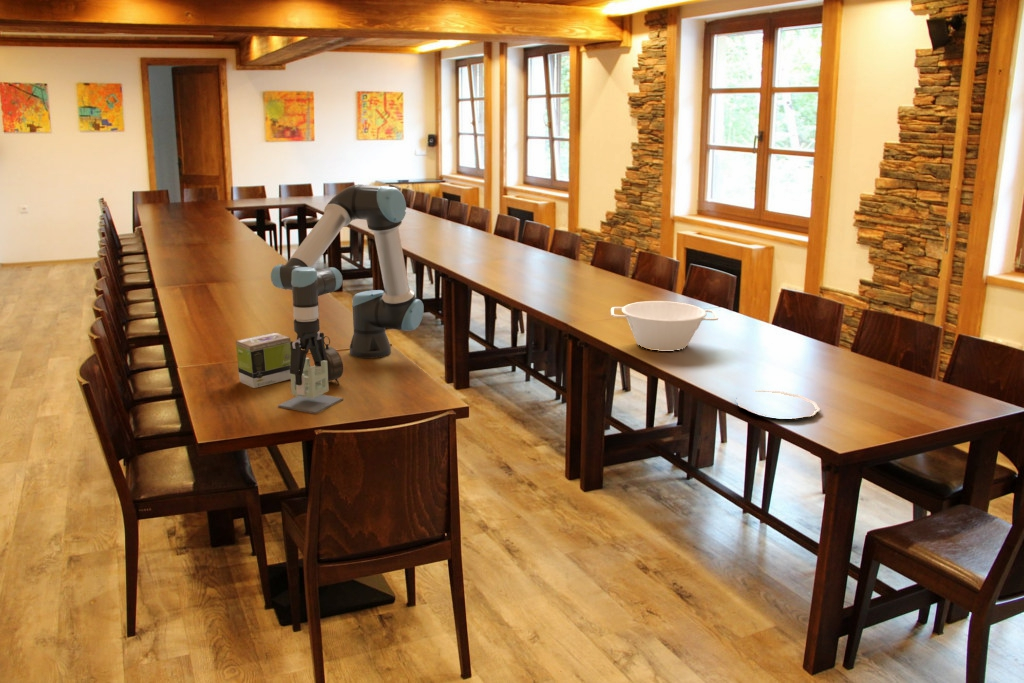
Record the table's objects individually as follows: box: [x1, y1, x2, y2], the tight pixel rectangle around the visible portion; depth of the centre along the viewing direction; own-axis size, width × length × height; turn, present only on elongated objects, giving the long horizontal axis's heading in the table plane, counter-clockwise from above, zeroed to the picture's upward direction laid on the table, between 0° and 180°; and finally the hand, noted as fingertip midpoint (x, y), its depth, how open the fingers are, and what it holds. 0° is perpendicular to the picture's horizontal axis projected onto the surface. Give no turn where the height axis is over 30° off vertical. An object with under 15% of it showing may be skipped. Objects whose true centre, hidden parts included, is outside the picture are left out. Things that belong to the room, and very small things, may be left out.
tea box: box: [235, 331, 292, 389], centre depth 296 cm, size 15×10×15 cm
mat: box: [277, 394, 344, 415], centre depth 276 cm, size 14×14×1 cm
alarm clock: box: [313, 335, 344, 386], centre depth 294 cm, size 11×5×16 cm, turn 47°
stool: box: [290, 357, 330, 398], centre depth 274 cm, size 8×8×10 cm
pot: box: [610, 300, 719, 350], centre depth 342 cm, size 40×32×14 cm
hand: (310, 390), depth 275 cm, fingers closed on stool, 8 cm apart
